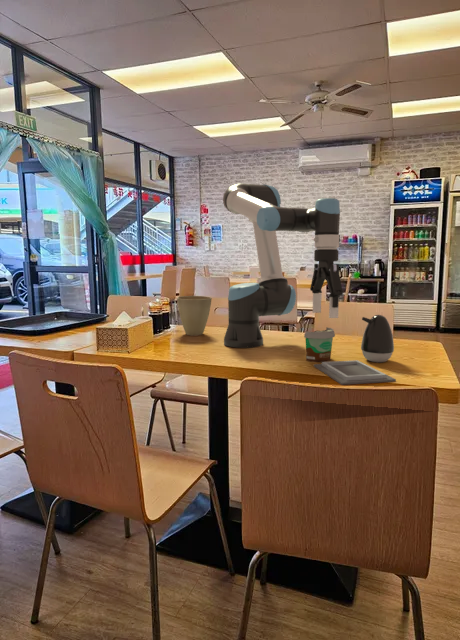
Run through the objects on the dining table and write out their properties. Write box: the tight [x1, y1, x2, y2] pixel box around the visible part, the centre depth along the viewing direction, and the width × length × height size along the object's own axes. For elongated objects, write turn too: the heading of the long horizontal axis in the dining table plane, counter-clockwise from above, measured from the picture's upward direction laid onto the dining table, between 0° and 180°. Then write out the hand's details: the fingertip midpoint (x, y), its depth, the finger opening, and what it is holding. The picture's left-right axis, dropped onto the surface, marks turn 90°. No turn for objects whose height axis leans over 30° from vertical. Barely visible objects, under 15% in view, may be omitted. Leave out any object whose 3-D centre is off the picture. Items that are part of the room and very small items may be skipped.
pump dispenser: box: [360, 314, 395, 363], centre depth 145 cm, size 10×10×15 cm
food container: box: [303, 327, 336, 363], centre depth 146 cm, size 12×6×10 cm, turn 131°
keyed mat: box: [313, 359, 397, 386], centre depth 131 cm, size 20×16×2 cm
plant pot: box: [176, 295, 212, 337], centre depth 192 cm, size 15×15×16 cm
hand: (324, 315), depth 144 cm, fingers open, 13 cm apart
